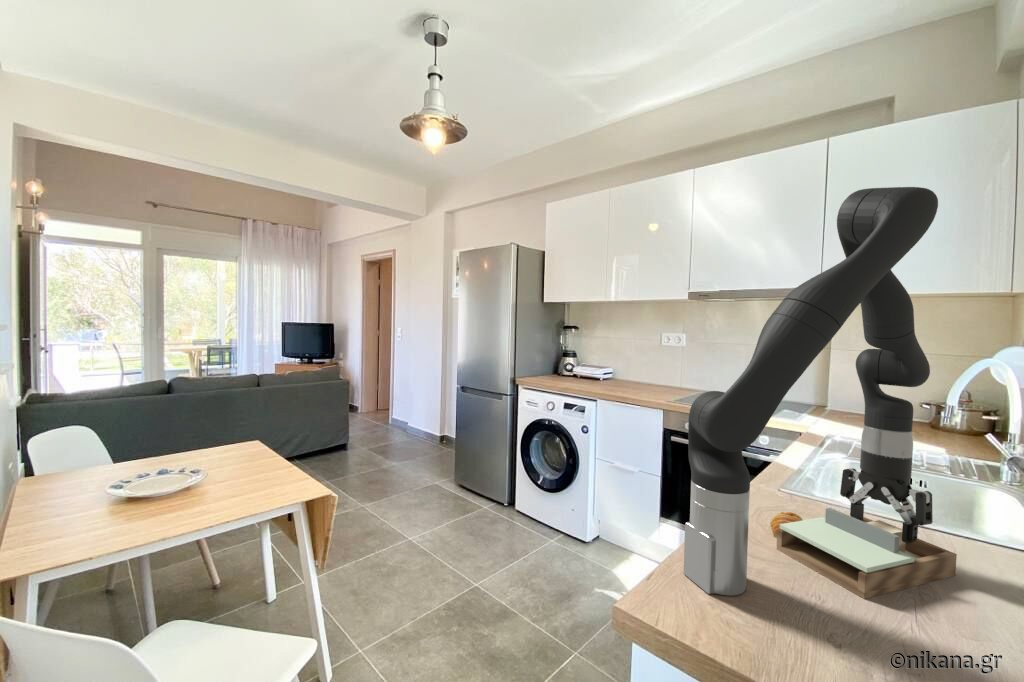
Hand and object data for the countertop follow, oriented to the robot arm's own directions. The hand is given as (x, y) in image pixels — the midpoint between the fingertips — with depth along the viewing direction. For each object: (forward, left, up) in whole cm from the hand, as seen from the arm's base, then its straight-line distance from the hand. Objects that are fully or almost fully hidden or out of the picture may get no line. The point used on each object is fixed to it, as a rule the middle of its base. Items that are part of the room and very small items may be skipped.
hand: (881, 531), depth 82 cm
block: (0, 0, -4) cm, 4 cm away
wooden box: (-6, 0, -5) cm, 8 cm away
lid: (-11, 0, -1) cm, 11 cm away
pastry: (-9, +12, -6) cm, 16 cm away
